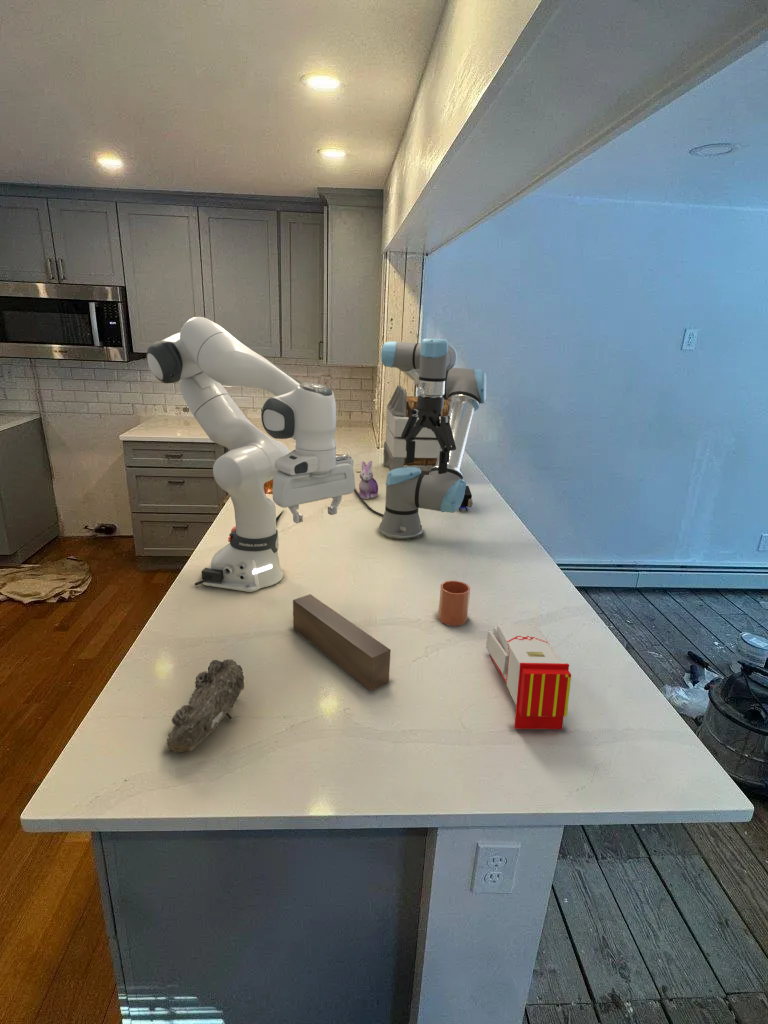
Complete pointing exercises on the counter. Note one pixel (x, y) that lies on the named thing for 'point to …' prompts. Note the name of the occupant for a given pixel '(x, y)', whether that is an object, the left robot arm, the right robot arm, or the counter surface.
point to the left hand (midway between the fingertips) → (315, 517)
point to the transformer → (396, 423)
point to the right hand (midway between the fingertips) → (425, 467)
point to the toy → (531, 675)
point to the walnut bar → (342, 641)
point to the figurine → (367, 482)
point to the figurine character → (466, 499)
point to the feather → (278, 517)
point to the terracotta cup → (453, 603)
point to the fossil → (206, 705)
